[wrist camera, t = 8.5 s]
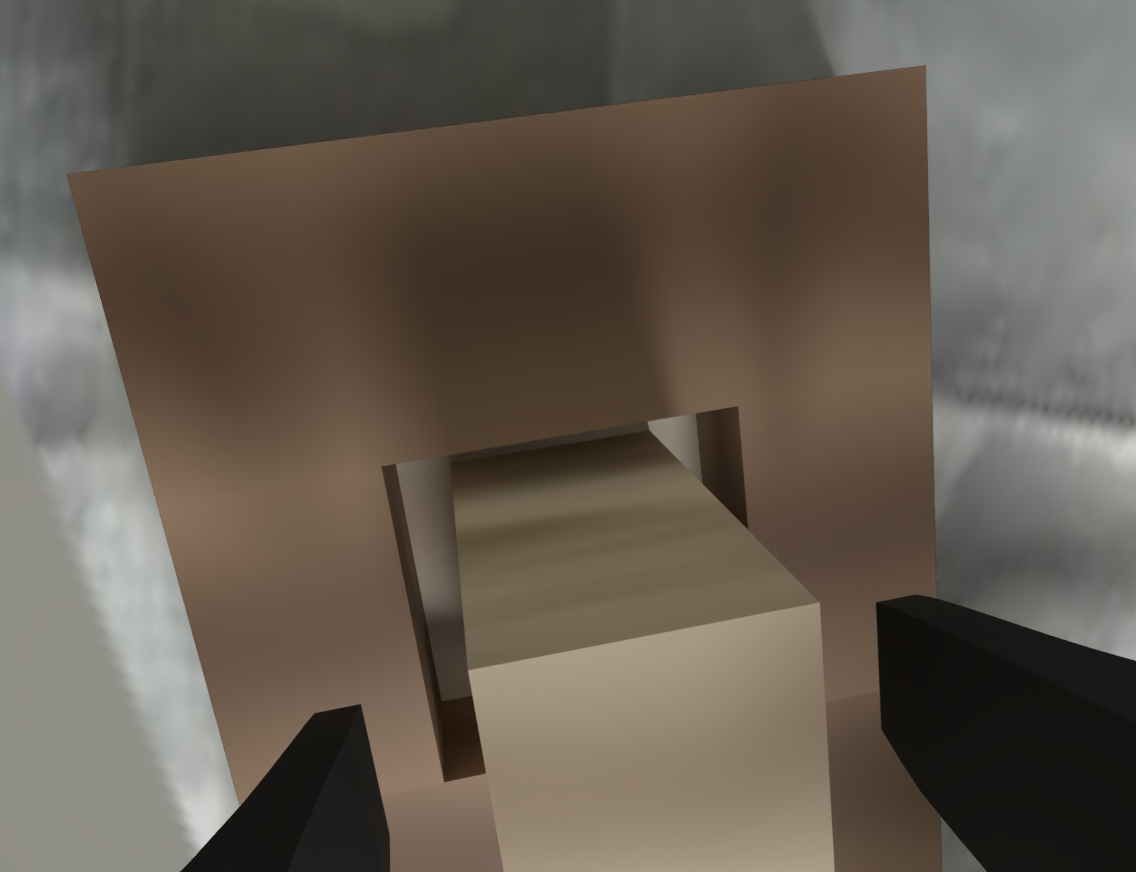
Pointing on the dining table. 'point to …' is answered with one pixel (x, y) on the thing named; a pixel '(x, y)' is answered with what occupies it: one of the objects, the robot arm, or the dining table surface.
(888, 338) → the socket block
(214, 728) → the dining table surface
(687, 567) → the beech peg
